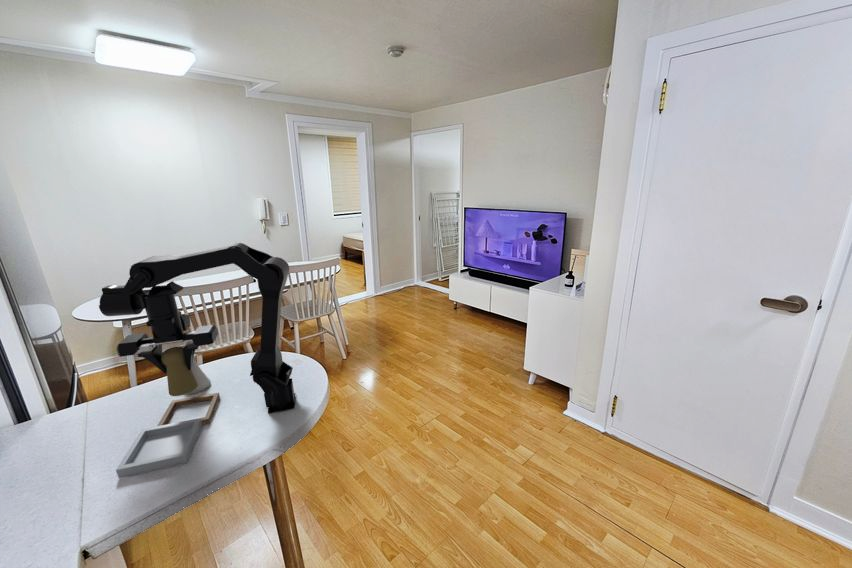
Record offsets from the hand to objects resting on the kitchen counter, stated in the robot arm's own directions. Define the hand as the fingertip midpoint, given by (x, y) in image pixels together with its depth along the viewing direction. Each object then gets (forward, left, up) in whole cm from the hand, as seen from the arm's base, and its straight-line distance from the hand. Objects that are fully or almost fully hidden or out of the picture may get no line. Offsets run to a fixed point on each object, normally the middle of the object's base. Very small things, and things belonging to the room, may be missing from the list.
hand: (178, 371), depth 84 cm
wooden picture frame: (0, 0, -13) cm, 13 cm away
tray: (+2, +11, -13) cm, 17 cm away
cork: (0, 0, -5) cm, 5 cm away
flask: (+2, -13, -13) cm, 18 cm away
